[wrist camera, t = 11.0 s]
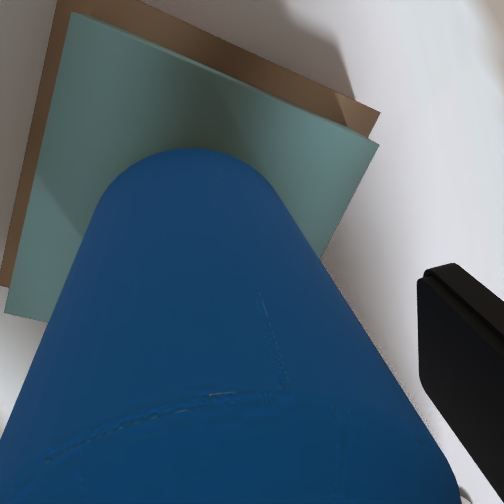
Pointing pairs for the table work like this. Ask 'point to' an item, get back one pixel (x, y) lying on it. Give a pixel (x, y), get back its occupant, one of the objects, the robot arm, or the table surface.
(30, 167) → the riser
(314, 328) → the beverage can
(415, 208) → the table surface
